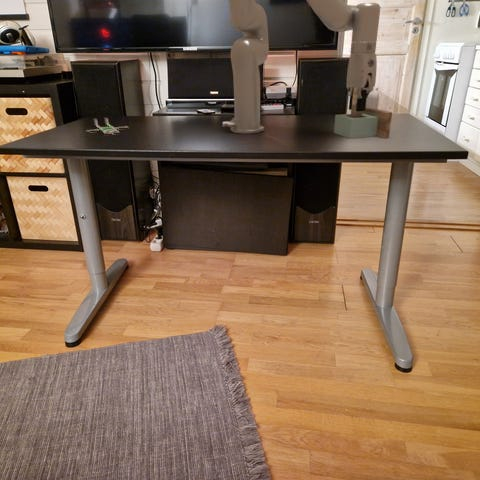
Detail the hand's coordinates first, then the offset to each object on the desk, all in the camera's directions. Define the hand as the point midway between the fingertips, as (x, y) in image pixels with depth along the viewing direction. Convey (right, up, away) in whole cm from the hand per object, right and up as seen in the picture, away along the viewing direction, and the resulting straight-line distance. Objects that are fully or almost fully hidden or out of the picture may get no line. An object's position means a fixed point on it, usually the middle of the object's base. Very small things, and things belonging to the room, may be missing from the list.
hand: (356, 109), depth 134 cm
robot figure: (-92, 0, +27) cm, 96 cm away
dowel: (0, -4, +2) cm, 4 cm away
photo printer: (+11, +4, +29) cm, 31 cm away
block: (0, -7, +3) cm, 8 cm away
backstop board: (-3, -9, +3) cm, 10 cm away
